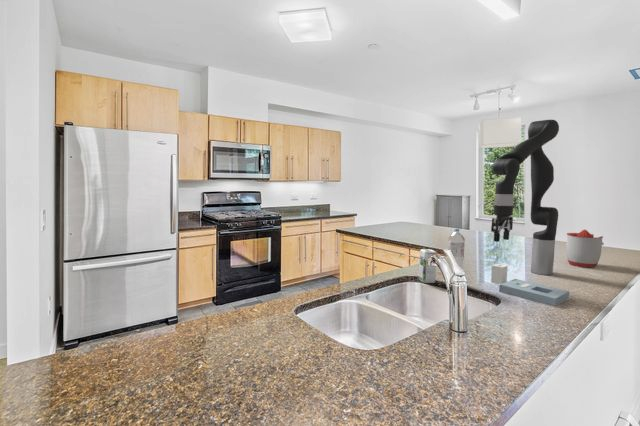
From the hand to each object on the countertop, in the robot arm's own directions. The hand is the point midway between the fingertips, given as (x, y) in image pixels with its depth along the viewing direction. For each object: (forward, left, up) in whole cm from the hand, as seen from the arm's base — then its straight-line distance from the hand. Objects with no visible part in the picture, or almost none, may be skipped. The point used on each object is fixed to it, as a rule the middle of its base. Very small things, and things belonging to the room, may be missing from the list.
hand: (501, 240), depth 147 cm
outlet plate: (+5, +16, -19) cm, 26 cm away
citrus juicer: (-71, +11, -20) cm, 75 cm away
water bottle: (+19, -10, -20) cm, 29 cm away
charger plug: (0, 0, -20) cm, 20 cm away
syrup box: (+25, -20, -20) cm, 38 cm away
